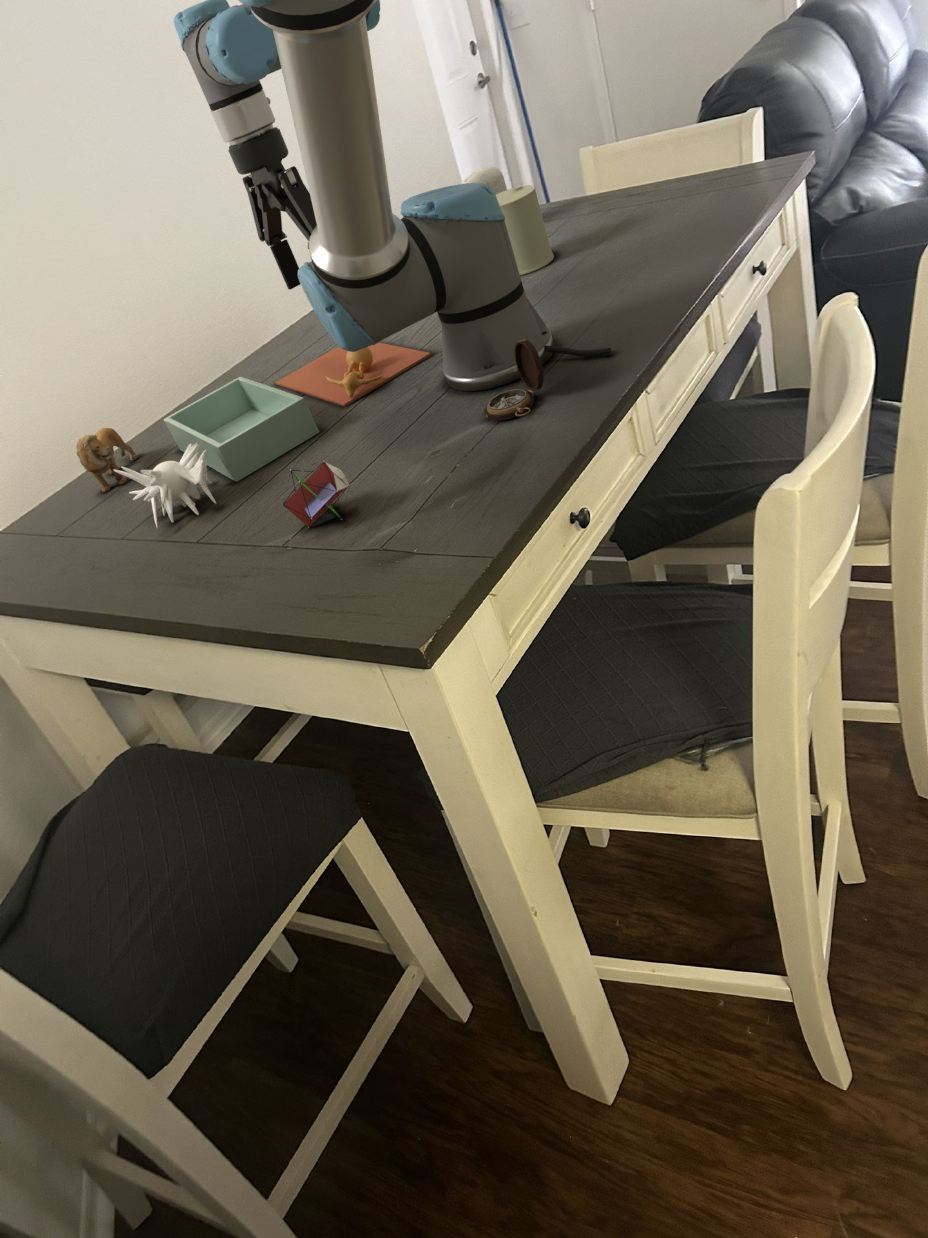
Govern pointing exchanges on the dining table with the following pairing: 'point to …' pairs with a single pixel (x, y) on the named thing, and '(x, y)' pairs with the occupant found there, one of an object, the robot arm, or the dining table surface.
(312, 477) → the geometric puzzle
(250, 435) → the basin
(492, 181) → the white curved piece
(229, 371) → the dining table surface
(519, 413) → the compass
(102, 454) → the lion figurine
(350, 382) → the figurine
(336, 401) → the mat
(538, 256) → the can
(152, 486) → the spiky ball
